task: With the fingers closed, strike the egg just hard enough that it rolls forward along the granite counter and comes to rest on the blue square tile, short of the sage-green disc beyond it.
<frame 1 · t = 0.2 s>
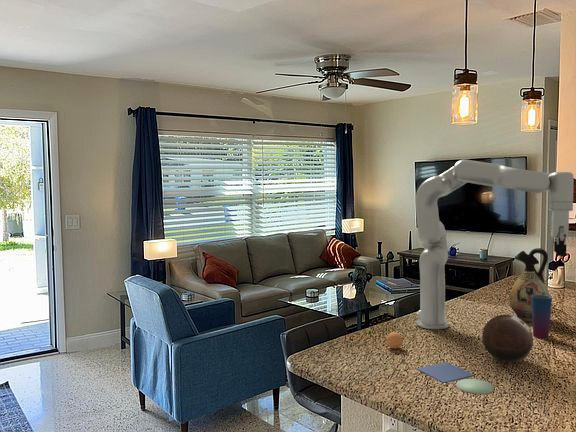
hand: (559, 253, 182), 31 cm above the worktop, tool pointing down, fingers open, 9 cm apart
cup: (540, 336, 187), on the worktop
egg: (394, 340, 177), on the worktop
wooden sphere: (506, 361, 163), on the worktop
ceramic jug: (531, 319, 209), on the worktop
far disc: (474, 386, 144), on the worktop
blue square tile: (445, 372, 155), on the worktop
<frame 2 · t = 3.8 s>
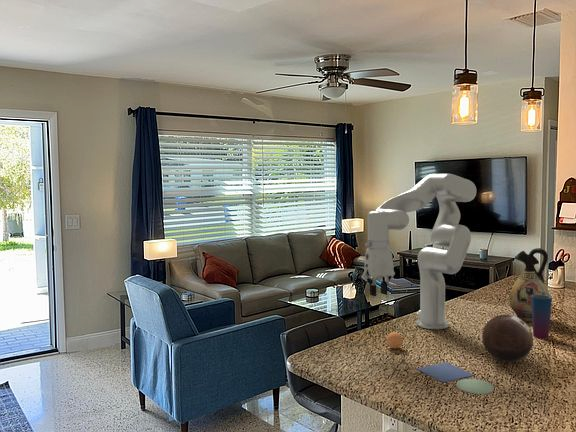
hand: (378, 294, 185), 17 cm above the worktop, tool pointing down, fingers open, 4 cm apart
nothing on the worktop moved.
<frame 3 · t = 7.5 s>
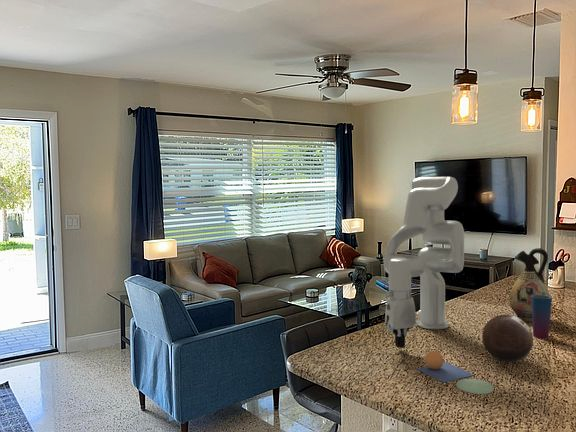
hand: (400, 346, 174), 2 cm above the worktop, tool pointing down, fingers closed
egg: (434, 360, 157), on the worktop
everything else where it was.
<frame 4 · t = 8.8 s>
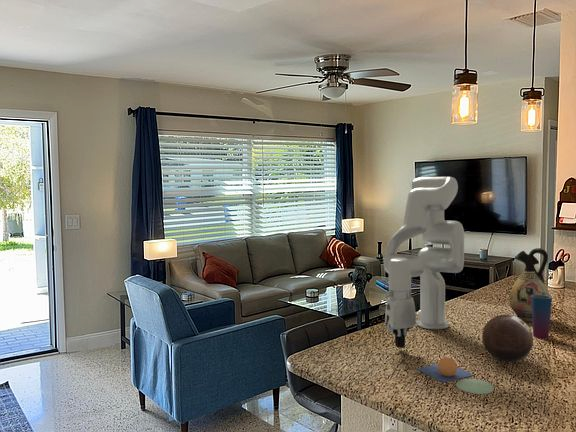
hand: (400, 346, 174), 2 cm above the worktop, tool pointing down, fingers closed
egg: (447, 366, 152), on the worktop
everything else where it was.
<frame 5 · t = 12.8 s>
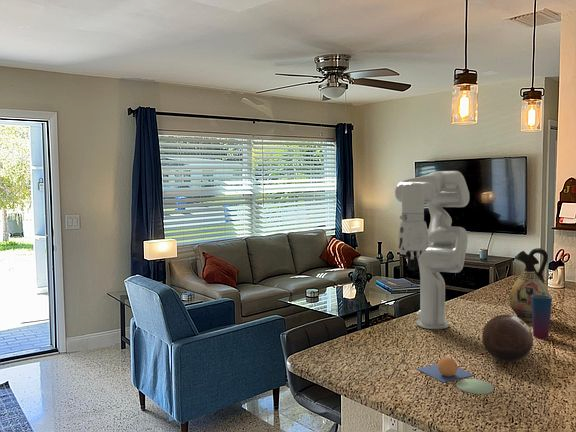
hand: (412, 269, 179), 27 cm above the worktop, tool pointing down, fingers closed
nothing on the worktop moved.
at the end: egg 2.9 cm from the blue square tile (horizontally); egg at rest at the end (0.0 cm/s); egg moved 27.6 cm from its start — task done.
